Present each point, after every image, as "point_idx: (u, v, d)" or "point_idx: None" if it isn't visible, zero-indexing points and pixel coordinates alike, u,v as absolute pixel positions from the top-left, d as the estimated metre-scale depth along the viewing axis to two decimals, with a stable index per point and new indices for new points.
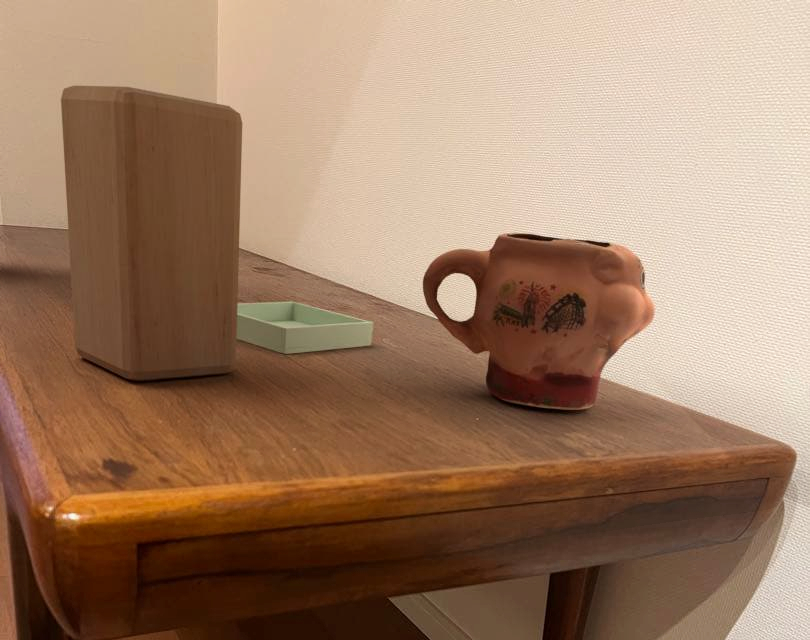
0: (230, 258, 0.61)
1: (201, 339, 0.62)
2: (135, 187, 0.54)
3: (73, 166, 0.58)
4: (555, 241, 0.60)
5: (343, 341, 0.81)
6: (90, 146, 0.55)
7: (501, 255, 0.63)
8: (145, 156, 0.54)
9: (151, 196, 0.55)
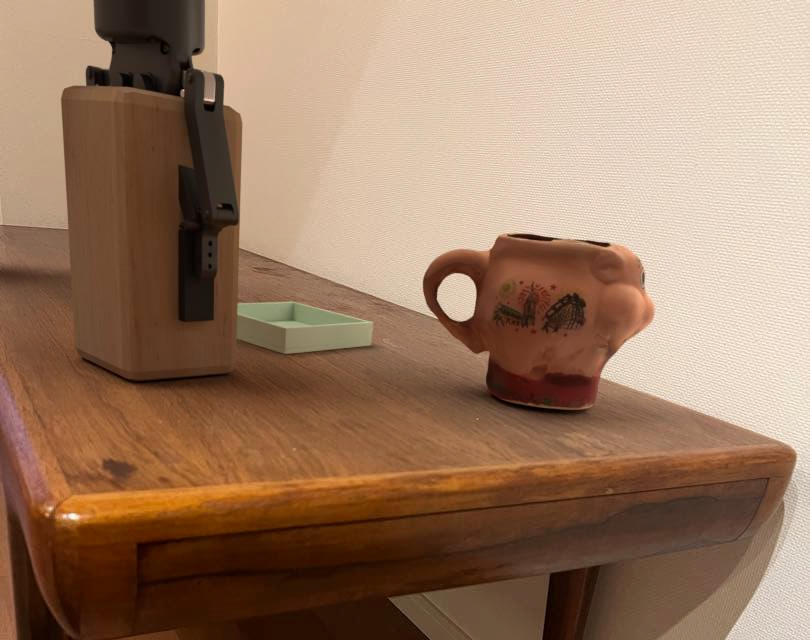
0: (230, 258, 0.61)
1: (201, 339, 0.62)
2: (135, 187, 0.54)
3: (73, 166, 0.58)
4: (555, 241, 0.60)
5: (343, 341, 0.81)
6: (90, 146, 0.55)
7: (501, 255, 0.63)
8: (145, 156, 0.54)
9: (151, 196, 0.55)
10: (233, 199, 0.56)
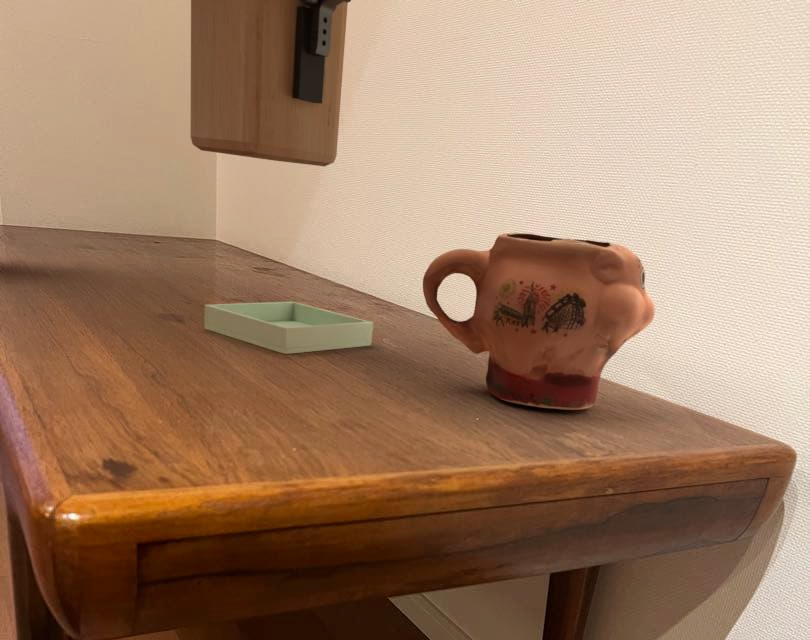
0: (337, 46, 0.67)
1: (309, 122, 0.68)
2: None
3: None
4: (555, 241, 0.60)
5: (343, 341, 0.81)
6: None
7: (501, 255, 0.63)
8: None
9: None
10: None
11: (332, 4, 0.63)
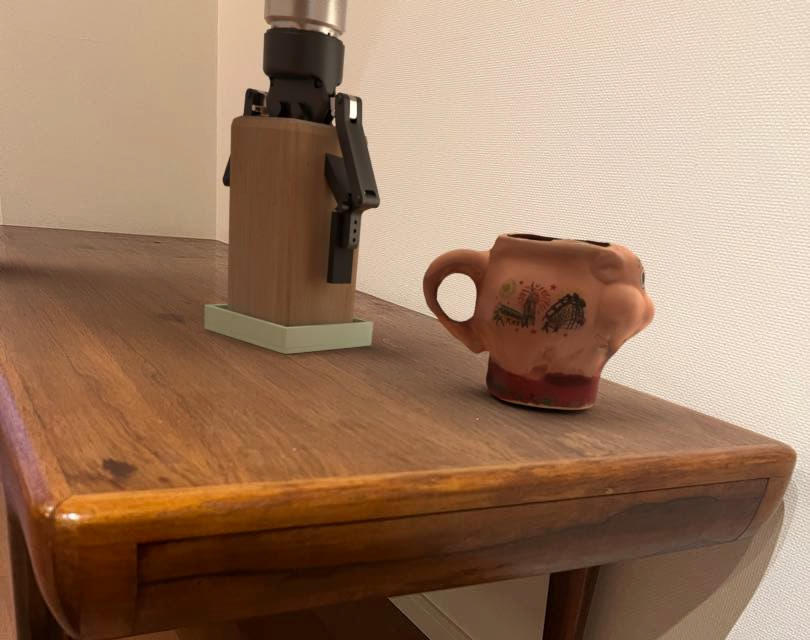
0: None
1: (330, 310, 0.80)
2: (295, 192, 0.72)
3: (240, 177, 0.76)
4: (555, 241, 0.60)
5: (343, 341, 0.81)
6: (258, 162, 0.73)
7: (501, 255, 0.63)
8: (303, 170, 0.72)
9: (304, 199, 0.73)
10: (375, 187, 0.73)
11: None
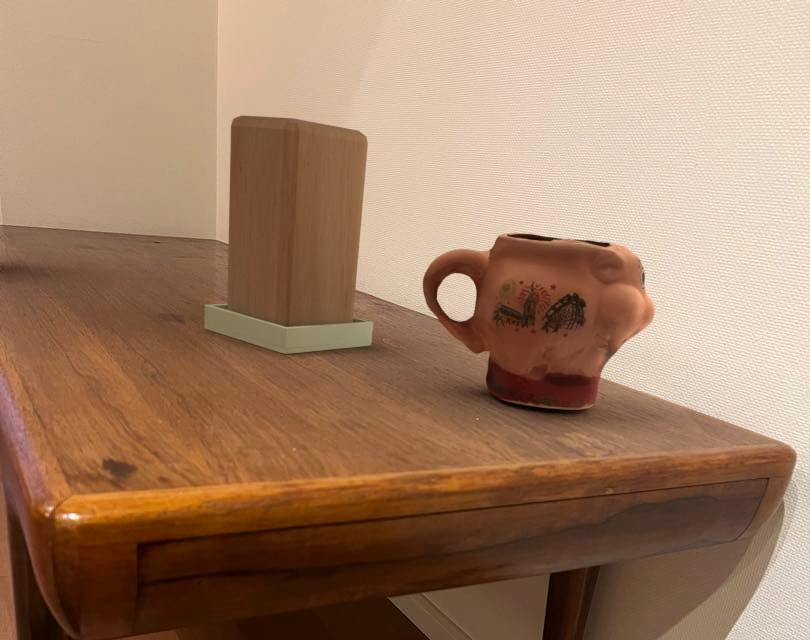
0: (353, 247, 0.79)
1: (330, 310, 0.80)
2: (295, 192, 0.72)
3: (240, 177, 0.76)
4: (555, 241, 0.60)
5: (343, 341, 0.81)
6: (258, 162, 0.73)
7: (501, 255, 0.63)
8: (303, 170, 0.72)
9: (304, 199, 0.73)
10: None
11: None
